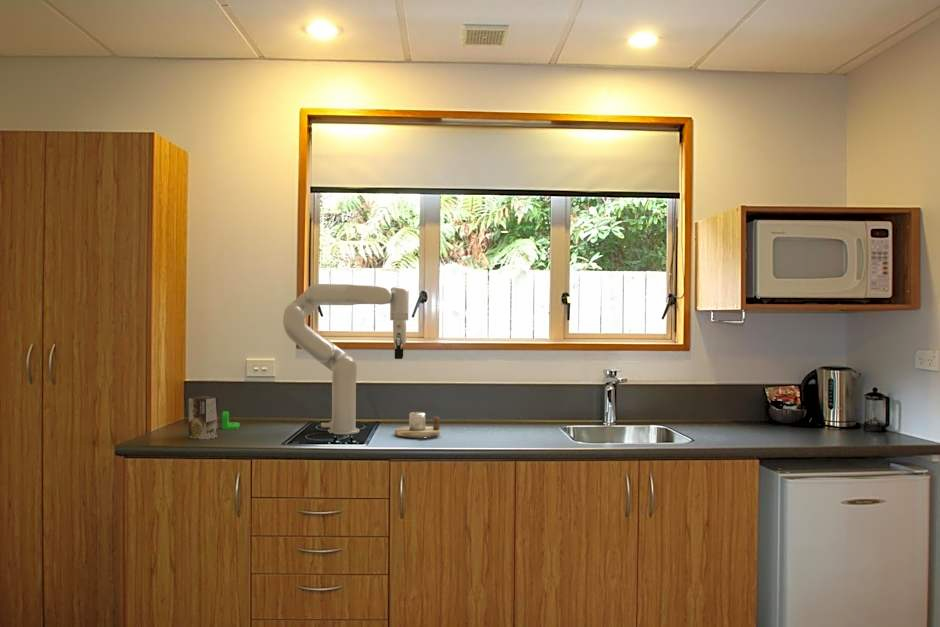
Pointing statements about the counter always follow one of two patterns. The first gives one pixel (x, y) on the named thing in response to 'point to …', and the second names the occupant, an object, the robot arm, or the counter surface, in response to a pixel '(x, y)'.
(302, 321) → the robot arm
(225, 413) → the mechanical part
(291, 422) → the counter surface
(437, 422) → the turntable
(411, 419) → the silver rounded piece
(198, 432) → the coffee box
